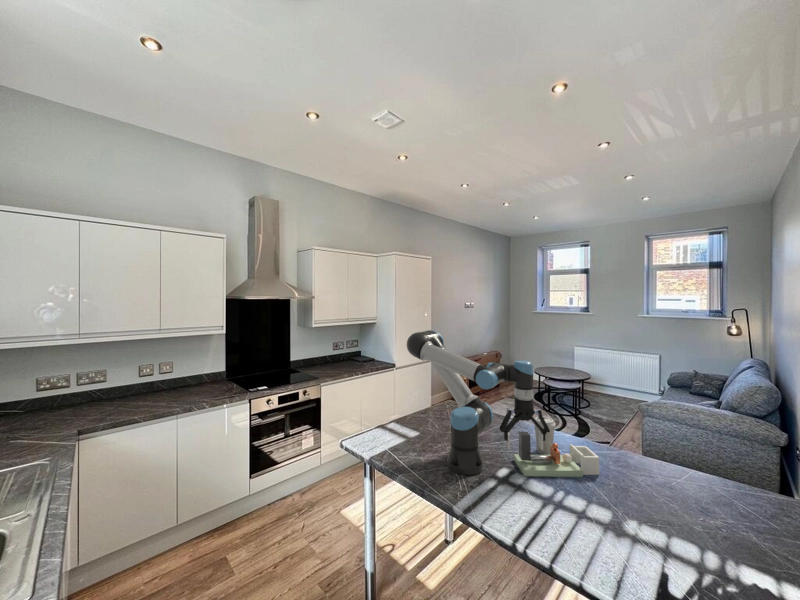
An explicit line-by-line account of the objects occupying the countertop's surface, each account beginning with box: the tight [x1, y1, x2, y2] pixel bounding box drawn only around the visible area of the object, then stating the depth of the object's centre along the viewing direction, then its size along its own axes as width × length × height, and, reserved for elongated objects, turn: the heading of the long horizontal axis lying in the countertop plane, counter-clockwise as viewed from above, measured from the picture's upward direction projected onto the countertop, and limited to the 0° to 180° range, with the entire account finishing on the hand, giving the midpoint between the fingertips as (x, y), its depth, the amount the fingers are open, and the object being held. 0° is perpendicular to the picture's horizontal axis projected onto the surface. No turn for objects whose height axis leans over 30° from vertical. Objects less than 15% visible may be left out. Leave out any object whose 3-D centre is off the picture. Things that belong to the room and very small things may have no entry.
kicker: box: [518, 431, 561, 464], centre depth 132 cm, size 16×6×11 cm, turn 87°
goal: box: [569, 443, 600, 476], centre depth 131 cm, size 7×10×8 cm
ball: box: [562, 452, 572, 463], centre depth 131 cm, size 4×4×4 cm
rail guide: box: [532, 461, 552, 464], centre depth 132 cm, size 8×4×1 cm, turn 87°
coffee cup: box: [533, 415, 557, 455], centre depth 146 cm, size 10×10×15 cm
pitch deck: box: [513, 453, 584, 478], centre depth 132 cm, size 23×13×2 cm, turn 87°
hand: (524, 448), depth 132 cm, fingers open, 13 cm apart
